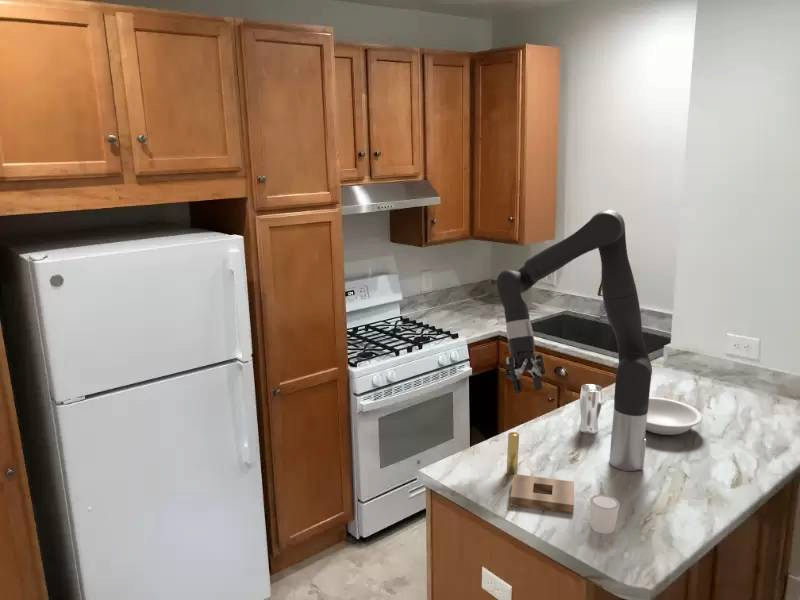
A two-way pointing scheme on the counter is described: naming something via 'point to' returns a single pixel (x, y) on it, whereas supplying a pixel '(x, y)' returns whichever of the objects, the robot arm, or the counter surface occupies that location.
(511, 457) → the peg
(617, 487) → the counter surface
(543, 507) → the block
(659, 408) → the soup bowl
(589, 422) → the beer glass
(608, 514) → the shot glass
